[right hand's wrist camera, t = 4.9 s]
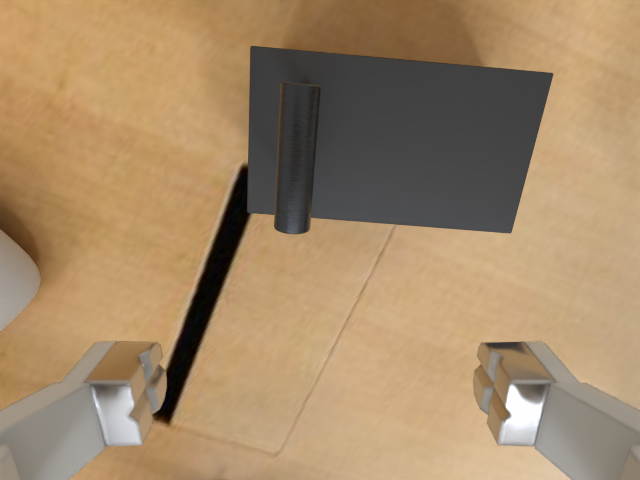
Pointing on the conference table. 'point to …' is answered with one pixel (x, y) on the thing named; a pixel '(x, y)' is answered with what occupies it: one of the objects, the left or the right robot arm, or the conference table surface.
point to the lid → (389, 140)
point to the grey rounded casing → (15, 280)
